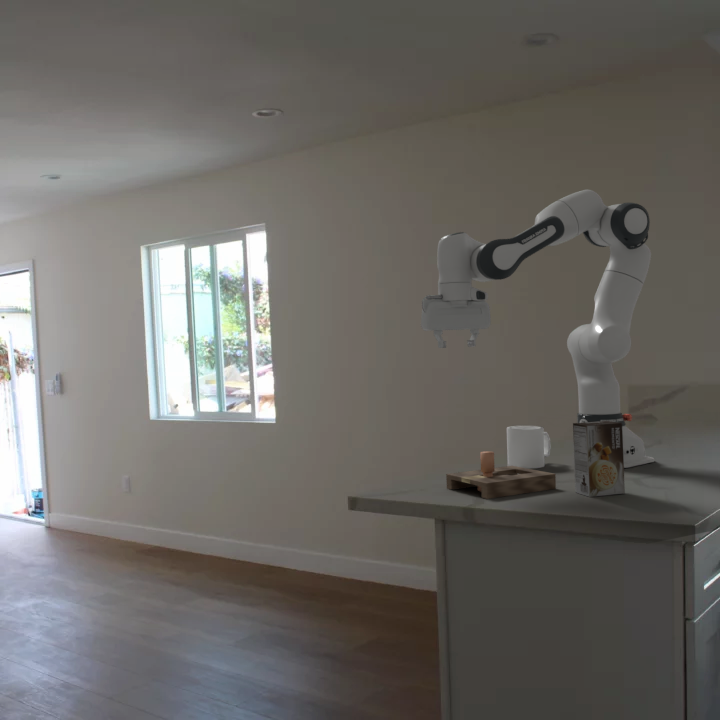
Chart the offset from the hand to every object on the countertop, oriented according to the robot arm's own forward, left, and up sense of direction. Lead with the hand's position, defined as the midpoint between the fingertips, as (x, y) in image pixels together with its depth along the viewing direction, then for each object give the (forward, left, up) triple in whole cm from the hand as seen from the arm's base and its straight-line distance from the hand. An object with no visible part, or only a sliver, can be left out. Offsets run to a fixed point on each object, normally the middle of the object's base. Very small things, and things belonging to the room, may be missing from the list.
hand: (457, 347), depth 211 cm
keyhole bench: (+4, +22, -34) cm, 40 cm away
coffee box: (-10, +40, -34) cm, 53 cm away
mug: (-24, -1, -34) cm, 42 cm away
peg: (+7, +22, -34) cm, 41 cm away
